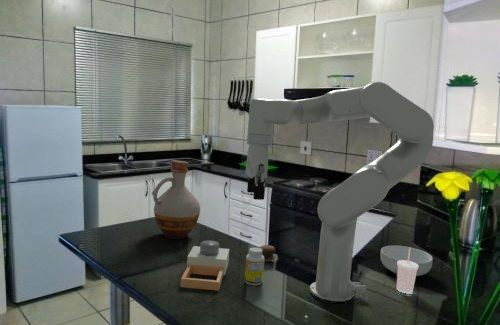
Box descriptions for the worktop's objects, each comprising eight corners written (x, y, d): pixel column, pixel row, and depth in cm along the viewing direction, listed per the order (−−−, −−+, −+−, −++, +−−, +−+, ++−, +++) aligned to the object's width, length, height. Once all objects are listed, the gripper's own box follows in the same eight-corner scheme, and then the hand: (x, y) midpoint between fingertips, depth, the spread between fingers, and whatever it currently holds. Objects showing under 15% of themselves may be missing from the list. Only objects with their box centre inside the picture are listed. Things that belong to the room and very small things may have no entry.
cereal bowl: (378, 260, 150) (380, 242, 149) (427, 268, 145) (429, 249, 144) (378, 277, 134) (381, 256, 133) (433, 287, 129) (436, 266, 128)
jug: (163, 247, 147) (167, 165, 143) (140, 233, 160) (143, 158, 156) (207, 238, 160) (212, 163, 156) (182, 227, 173) (186, 157, 169)
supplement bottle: (248, 276, 127) (251, 245, 125) (265, 281, 124) (268, 248, 123) (241, 283, 121) (243, 250, 120) (258, 287, 119) (260, 254, 118)
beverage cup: (412, 289, 126) (418, 245, 125) (417, 297, 120) (423, 252, 119) (392, 286, 127) (397, 243, 126) (395, 294, 121) (401, 249, 120)
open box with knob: (228, 263, 136) (229, 240, 135) (220, 290, 115) (222, 263, 114) (192, 260, 137) (194, 237, 136) (178, 286, 116) (180, 259, 115)
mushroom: (283, 252, 142) (274, 238, 140) (275, 267, 135) (265, 252, 134) (266, 257, 146) (257, 243, 145) (257, 271, 140) (247, 257, 139)
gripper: (242, 137, 130) (238, 189, 132) (253, 142, 113) (248, 202, 116) (265, 138, 132) (261, 190, 134) (279, 143, 115) (274, 202, 117)
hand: (255, 195), depth 125 cm, fingers open, 9 cm apart
